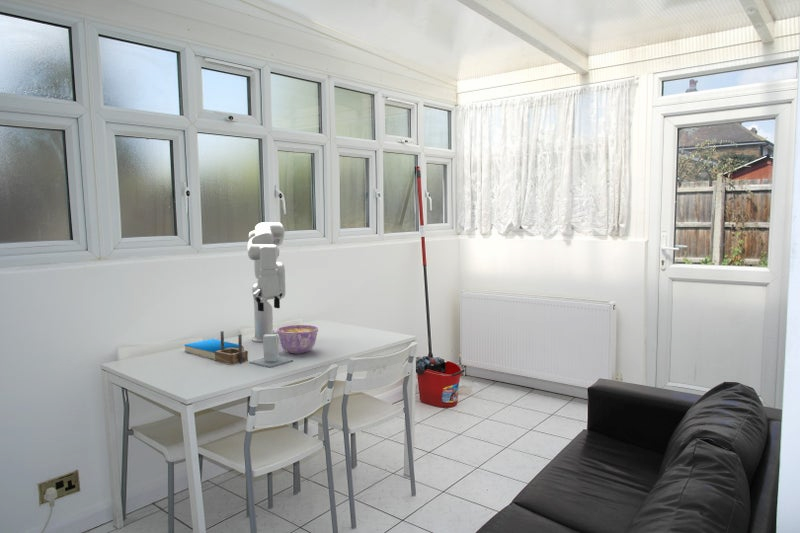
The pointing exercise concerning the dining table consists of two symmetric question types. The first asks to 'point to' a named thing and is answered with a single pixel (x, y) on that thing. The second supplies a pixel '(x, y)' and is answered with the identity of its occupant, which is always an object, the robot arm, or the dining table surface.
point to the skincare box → (270, 347)
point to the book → (208, 347)
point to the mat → (271, 364)
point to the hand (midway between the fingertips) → (269, 309)
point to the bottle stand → (231, 353)
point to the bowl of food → (297, 338)
